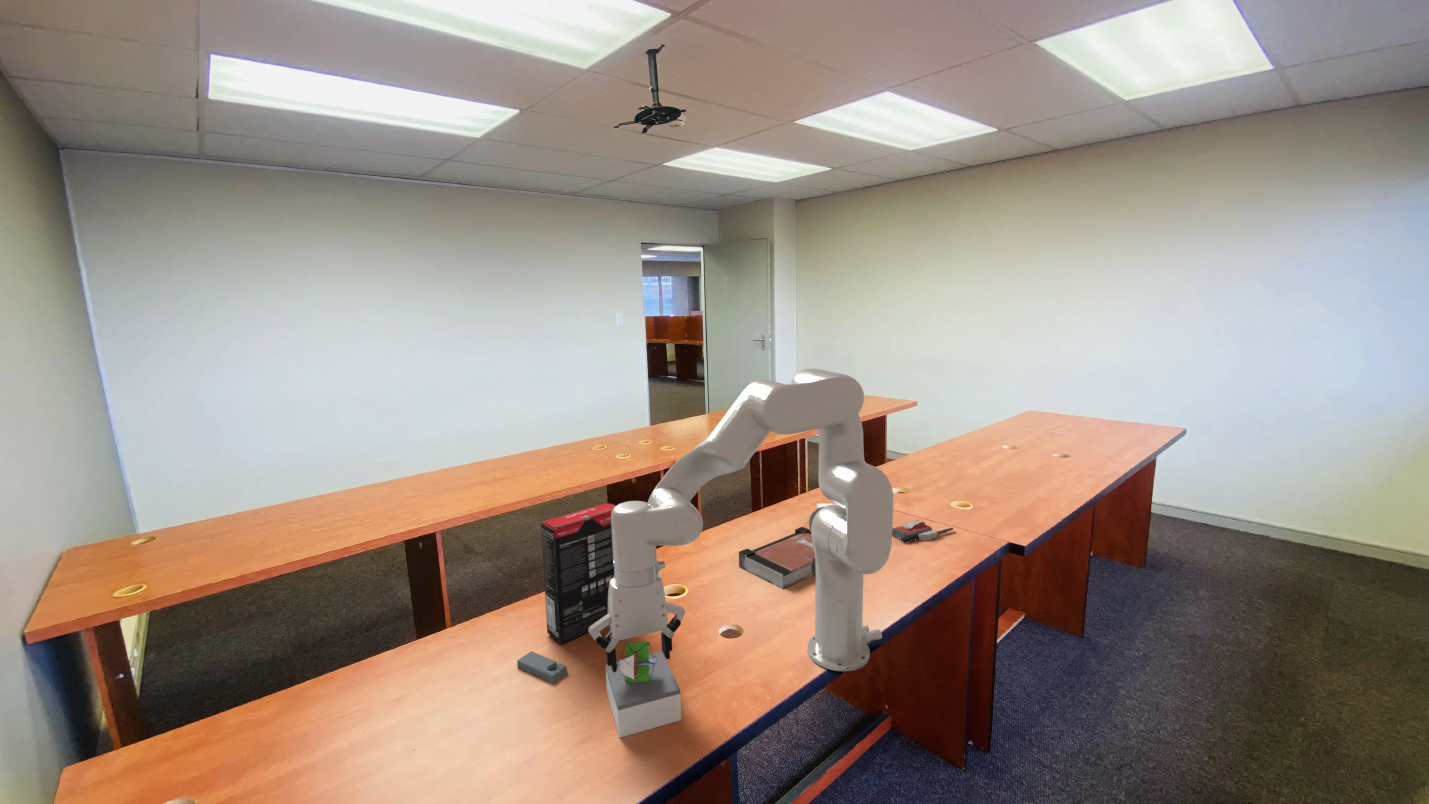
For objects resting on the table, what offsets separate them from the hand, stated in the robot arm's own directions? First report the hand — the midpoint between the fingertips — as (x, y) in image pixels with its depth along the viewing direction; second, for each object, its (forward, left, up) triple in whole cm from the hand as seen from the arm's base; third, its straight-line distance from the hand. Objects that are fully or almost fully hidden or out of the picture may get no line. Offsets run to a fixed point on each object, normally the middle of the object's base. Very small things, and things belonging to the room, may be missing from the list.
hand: (640, 661), depth 102 cm
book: (-53, -40, -10) cm, 68 cm away
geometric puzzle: (0, 0, -3) cm, 3 cm away
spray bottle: (-79, -65, -10) cm, 102 cm away
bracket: (+16, -18, -10) cm, 27 cm away
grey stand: (0, 0, -9) cm, 9 cm away
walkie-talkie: (-99, -42, -10) cm, 108 cm away
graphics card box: (+5, -31, -9) cm, 33 cm away
